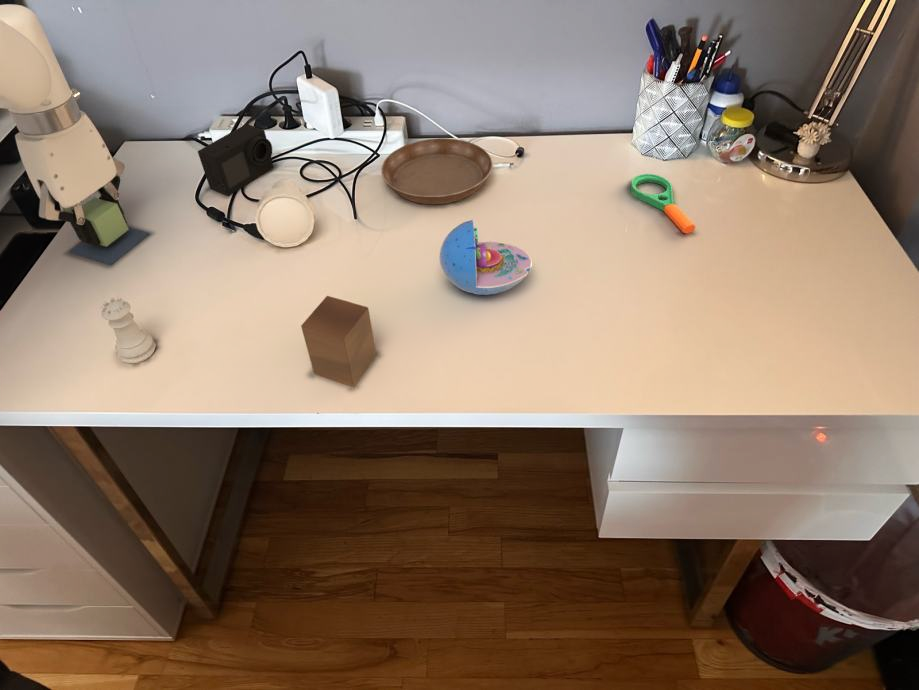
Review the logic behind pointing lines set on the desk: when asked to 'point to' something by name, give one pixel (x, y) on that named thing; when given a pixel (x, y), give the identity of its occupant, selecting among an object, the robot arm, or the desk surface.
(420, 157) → the plant saucer
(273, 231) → the spotlight
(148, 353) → the rook chess piece
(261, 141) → the digital camera
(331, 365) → the base block
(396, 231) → the desk surface
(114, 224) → the top block
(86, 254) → the coaster
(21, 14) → the robot arm
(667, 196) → the magnifying glass
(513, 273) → the cell model
